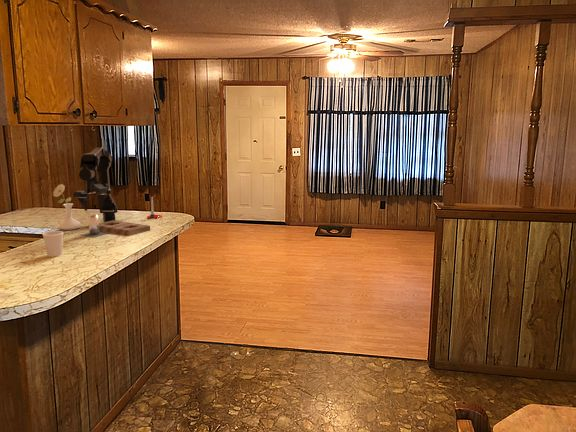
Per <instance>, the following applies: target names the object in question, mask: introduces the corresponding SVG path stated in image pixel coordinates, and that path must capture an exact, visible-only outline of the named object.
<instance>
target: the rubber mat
mask: <svg viewBox="0 0 576 432" xmlns="http://www.w3.org/2000/svg"><path fill="white" fill-rule="evenodd" d="M109 234H111V232H105V231H100V234H99V235H90V232H86V233H82V234H79V236H81V237H87V238H92V239H93V238H97V237H101V236H102V237H103V236H106V235H109Z"/></svg>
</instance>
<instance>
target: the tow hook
mask: <svg viewBox="0 0 576 432" xmlns="http://www.w3.org/2000/svg"><path fill="white" fill-rule="evenodd" d="M153 198H154V197H152V196H151V201H150V207H151V209H150V215H147V216H146V219H151V218H158V219H159V218H160V217H161V218H163V214H155V211H154V199H153Z"/></svg>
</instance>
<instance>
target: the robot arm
mask: <svg viewBox="0 0 576 432" xmlns="http://www.w3.org/2000/svg"><path fill="white" fill-rule="evenodd" d="M80 158H81V159H80V165H79V168H80V171H79V174H78V176H79V179H81V180H83V183H84V184H85V188H84V190H75V191H73V193H72V197H73V198H75V199H77V200H78V201H79V203H80V205H81V206H82V208H83V210H84V211H88V202H87V201H88V198H89V197H88V196H90V195H91V196H92V195H96V196H97V200H98V209H99V213H100V214H102V219H103V220H102V221H101V222H100V223H103V222H108V221H112V220H115V221H117V220H116V215H115V214H116V213H118V207H117V204H116V202H115V199H114V197H113V196H112V195H111V193H112V191H111V186H110V184H111V183H110V171H109V169H110V167H111V166H112V161H113V159H112V158H113V157H112V154H111V153H110V151H108V150H107V149H105V147H103V146H101V147H99V146H98V147H97V146H95V147H93V150H91V151H90V152H87V153H83V154H82V155H81V157H80ZM81 168H82V169H81ZM98 170H99V175H100V176H99V178H100V180H98V179H99V178H98Z"/></svg>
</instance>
